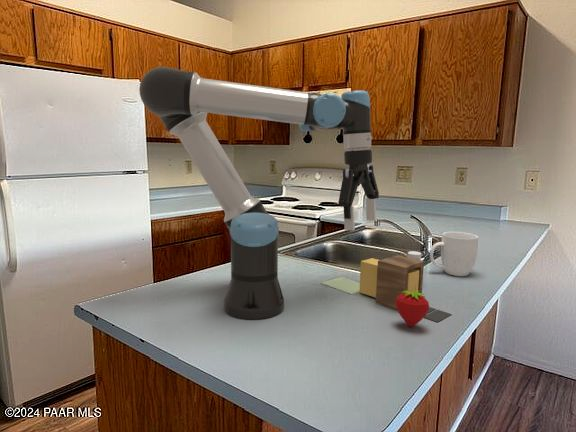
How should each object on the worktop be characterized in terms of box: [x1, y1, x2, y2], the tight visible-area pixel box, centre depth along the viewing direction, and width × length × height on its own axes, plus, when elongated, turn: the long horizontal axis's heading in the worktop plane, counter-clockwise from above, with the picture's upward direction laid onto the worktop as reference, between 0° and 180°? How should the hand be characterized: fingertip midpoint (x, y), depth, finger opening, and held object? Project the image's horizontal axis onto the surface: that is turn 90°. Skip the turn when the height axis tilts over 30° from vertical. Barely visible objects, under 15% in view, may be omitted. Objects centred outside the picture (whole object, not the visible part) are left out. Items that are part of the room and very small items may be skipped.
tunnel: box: [375, 254, 425, 311], centre depth 105 cm, size 9×8×12 cm
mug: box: [429, 231, 479, 277], centre depth 131 cm, size 15×11×13 cm
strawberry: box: [395, 284, 430, 328], centre depth 91 cm, size 6×8×10 cm
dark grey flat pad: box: [423, 306, 452, 323], centre depth 99 cm, size 7×8×1 cm
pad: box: [320, 276, 360, 295], centre depth 119 cm, size 9×12×1 cm
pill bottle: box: [406, 250, 423, 261], centre depth 121 cm, size 6×5×10 cm
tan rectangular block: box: [358, 257, 419, 299], centre depth 108 cm, size 5×15×9 cm, turn 42°
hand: (361, 225), depth 114 cm, fingers open, 13 cm apart
